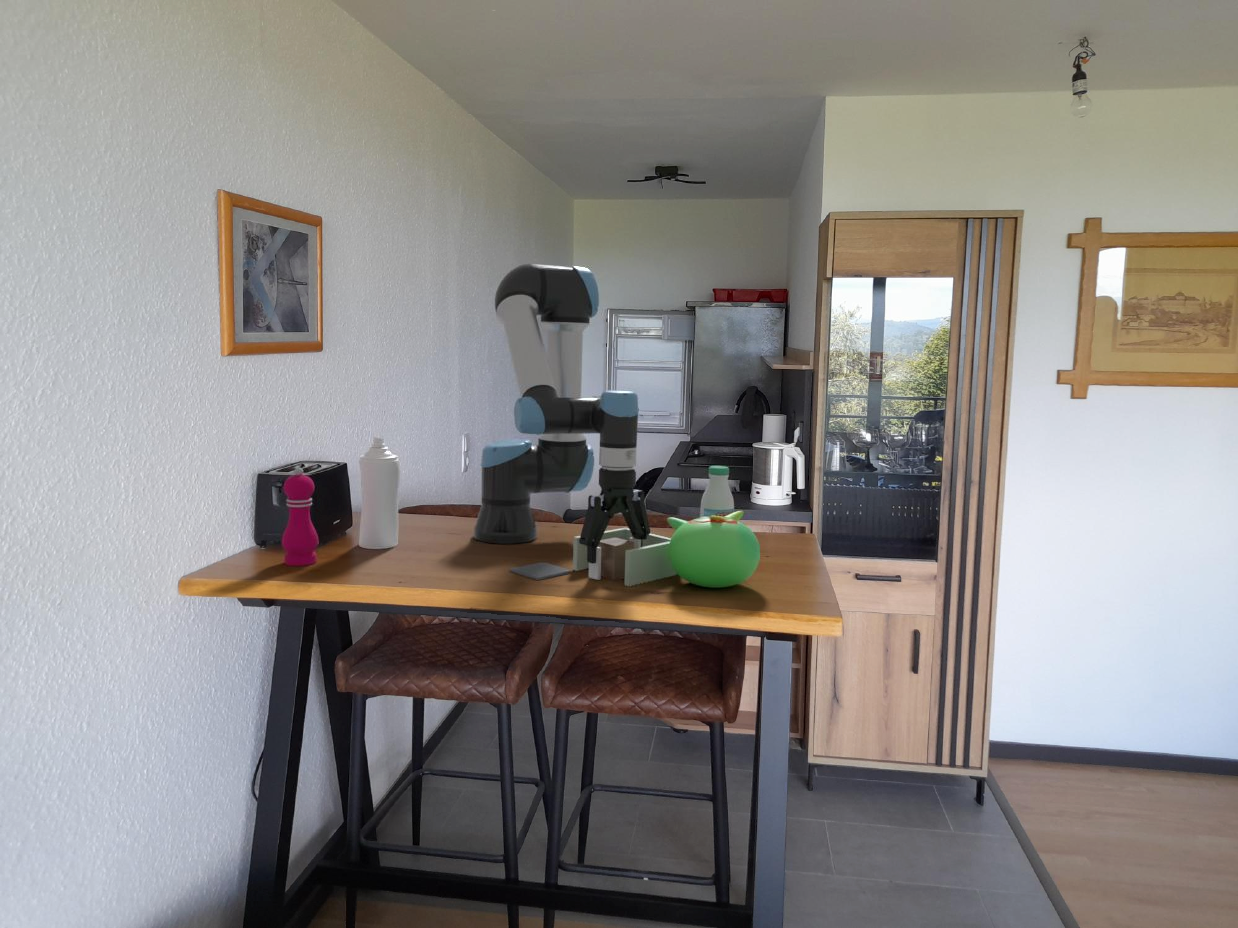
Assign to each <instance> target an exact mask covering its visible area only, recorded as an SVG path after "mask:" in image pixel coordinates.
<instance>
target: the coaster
mask: <svg viewBox="0 0 1238 928" xmlns="http://www.w3.org/2000/svg"><path fill="white" fill-rule="evenodd" d="M572 570H573V569H568V568H566V567H561V566H558V565H554V564H551V563H548V562H545V561H541V562H538V563H537V562H536V563H532V564H525V565H521V566H516V567H512V568H509V571H510V572H511V573H514V574H518V575H521V576H524V577H527V578H530V579H533V580H536V581H540V580H544V579H549V578H554V577H558V576H563V575H567V574H572V572H573V571H572Z"/></svg>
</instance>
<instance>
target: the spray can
mask: <svg viewBox="0 0 1238 928" xmlns="http://www.w3.org/2000/svg"><path fill="white" fill-rule="evenodd" d="M368 449H369V450H367V451H365V453H364V454H361V455H360V456H359V460H358V463H359V471H360V482H361V502H362V505H361V514H360V522H359V523H360V524H359V534H358V535H359V537H358V539H359V541H358V546H359V547H361V548H364V549H369V550H384V549H391V548H394V547H396V546H398V545H399V544H398V543H399V542H398V540H399V494H400V491H399V490H400V478H401V466H400V460H399V458H398V457H399V455H398V454H394V453H392V452H391V451H390V450H389V447H387V446H386V443H384V438H379V437H373V442H372V443H371V446H369V447H368Z"/></svg>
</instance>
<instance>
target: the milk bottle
mask: <svg viewBox="0 0 1238 928" xmlns="http://www.w3.org/2000/svg"><path fill="white" fill-rule="evenodd" d="M729 474H730V468H729V467H728V466H726V465H724V466H723V465H711V466H709V467H708V477H709V480H708V483H707V486H706V488H705V490H704V492H703V494H702V497H701V501H700V510H699V517H704V516H708V517H710V516H722V517H725V516H727V515H729V514H731V513H734V512H735V503H734V502H735V501H734V496H733V494H732V491H731V489H730V485H729V481H728V480H729V477H730V475H729Z"/></svg>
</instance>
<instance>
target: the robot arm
mask: <svg viewBox="0 0 1238 928" xmlns="http://www.w3.org/2000/svg"><path fill="white" fill-rule="evenodd" d="M599 294H600V293H599V287H598V283H597V279H596V278H595V275H594V274H593V272H592V271H591V270H590V269H588V268H586V267H583V266H575V265H557V264H556V265H555V264H554V265H553V264H536V263H525V264H521V265H519V266H516V267H514V268H513V269H511V270H510V271H509V272H508V273H506V275H504V277H503V278H502V280H501V281H500V282H499V285H498V287H497V289H496V292H495V297H494V309H495V314H496V317H497V319H498V321H499V322H500V323H501V324H502V325H503V328H504V332H505V336H506V341H507V344H508V349H509V353H510V357H511V361H512V365H513V369H514V374H515V377H516V382H517V386H518V388H519V389H518V390H519V393H520V397H518V398H517V399H516V400H515V402H514V408H513V417H514V425H515V428H516V430H517V431H518V433H520V434H526V435H527V434H528V435H539V436H538V438H537V439H538V443H537V444H533V443H532V441H531V440H530V439H528V438H511V439H503V440H497V441H494V442H493V441H492V442H491V443H488V444H486V445H485V446H484V447H483V449H482V451H481V453H482V455H481V462H480V467H481V503H480V504H481V505H480V509H479V512H478V514H477V517H476V522H475V525H474V527H473V538H474V539H475V540H476V541H477V540H478V541H480V542H483V543H488V544H490V543H491V544H501V545H502V544H505V545H506V544H521V543H527V542H531V541H532V542H533V541H534V540H536V539H537V538H538V527H537V525H536V520H535V516H534V513H533V509H532V507H531V494H545V493H546V494H549V493H565V494H570V493H573V492H582V491H583V490H585V489H586V488H587V487H588V486H589V484H590V483H591V481H592V477H593V473H594V469H595V456H594V450H593V447H592V445H590V444H588V443H587V437H586V436H585V434H589V435H590V434H599V452H598V453H599V459H598V461H599V462H598V465H599V466H600V468H599V470H598V486H599V487H600V489H601V490H600V493H599V495H589V496H588V497H587V500H588V501H587V503H588V504H587V505H588V506H587V510H586V513H585V518H584V521H583V526H582V529H581V533H580V535H579V536H580V540H579V543H580V544H583V545H586V546H587V561H588V563H589V568H588V578H590V579H593V580H596V581H599V580H601V579H602V576H601V547H598V545H599V543H600V541H601V538H602V536H603V534H604V532H605V531H607V527H608V525H609V522H610V520H611V519H613V518H614V517H615V515H617V514H619V513H620V514H621V515H622V516H623V518H624V520H625V523H626V525H627V528H629V530H630V532H631V534H632V536H633V537H634V538H629V541H632V542H634V549H635V548H640V547H642V542H643V539H644V540H645V539H646V538H647V535H649V534H651V528H650V527H651V526H650V523H649V519H648V513H647V510H646V509H647V508H646V505H645V491H644V490H642V489H641V490H640V489H634V488H635V487H636V485H637V470H636V469H635V468H634V467H636V466H637V451H638V450H637V448H638V447H637V445H638V444H637V442H638V424H639V423H638V422H639V421H638V420H639V401H638V400H639V397H638V394H637V393H636V392H635V391H631V390H630V391H629V390H605V391H603V392H601V394H600V395H601V396H589V397H582V380H583V379H582V377H583V375H582V373H583V343H584V342H583V341H584V340H583V337H584V335H583V333H584V331H585V329H586V328H587V327H589V326H590V319H592V318H593V317H595V316H596V315H597V313H598V311H599V310H598V309H599V305H600V295H599ZM537 316H540V324H541V325H542V326H543V328H544V329H545V330H546V347H545V344H544V341H543V337H542V332H541V329H540V326H539V325H540V324H539V321H538V318H537ZM545 348H546V349H545ZM593 540H594V541H593Z"/></svg>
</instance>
